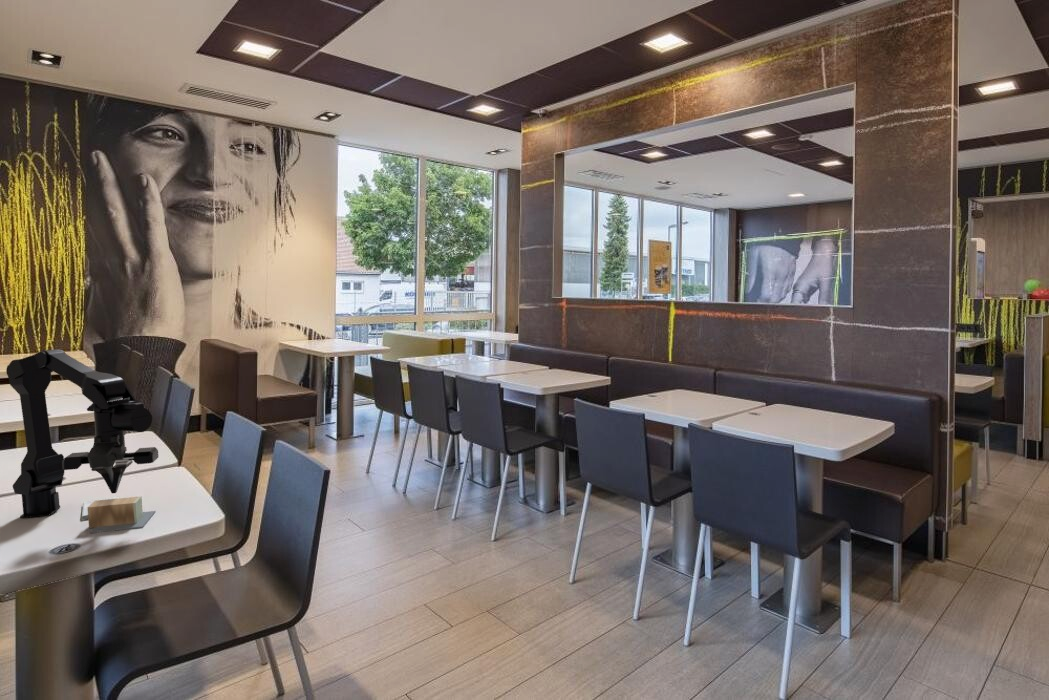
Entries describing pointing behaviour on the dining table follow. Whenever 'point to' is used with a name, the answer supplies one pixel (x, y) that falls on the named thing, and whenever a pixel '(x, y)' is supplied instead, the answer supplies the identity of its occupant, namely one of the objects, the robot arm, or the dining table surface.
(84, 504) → the hard drive
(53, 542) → the dining table surface
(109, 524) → the oak block
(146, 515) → the grey mat
